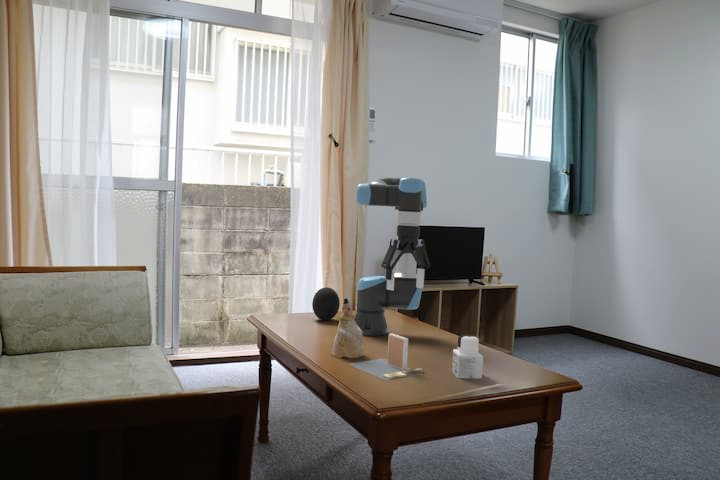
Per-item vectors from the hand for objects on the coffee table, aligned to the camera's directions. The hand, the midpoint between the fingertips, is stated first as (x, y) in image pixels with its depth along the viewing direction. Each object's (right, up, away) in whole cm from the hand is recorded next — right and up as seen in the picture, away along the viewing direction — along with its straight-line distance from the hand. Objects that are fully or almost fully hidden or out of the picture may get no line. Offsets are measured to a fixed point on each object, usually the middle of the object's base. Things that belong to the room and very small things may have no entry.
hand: (405, 289), depth 187 cm
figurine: (-19, -24, +9) cm, 32 cm away
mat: (-7, -25, -7) cm, 27 cm away
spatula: (-2, -25, -13) cm, 29 cm away
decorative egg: (-31, -20, +68) cm, 78 cm away
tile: (-3, -25, -4) cm, 25 cm away
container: (+19, -27, -9) cm, 34 cm away
